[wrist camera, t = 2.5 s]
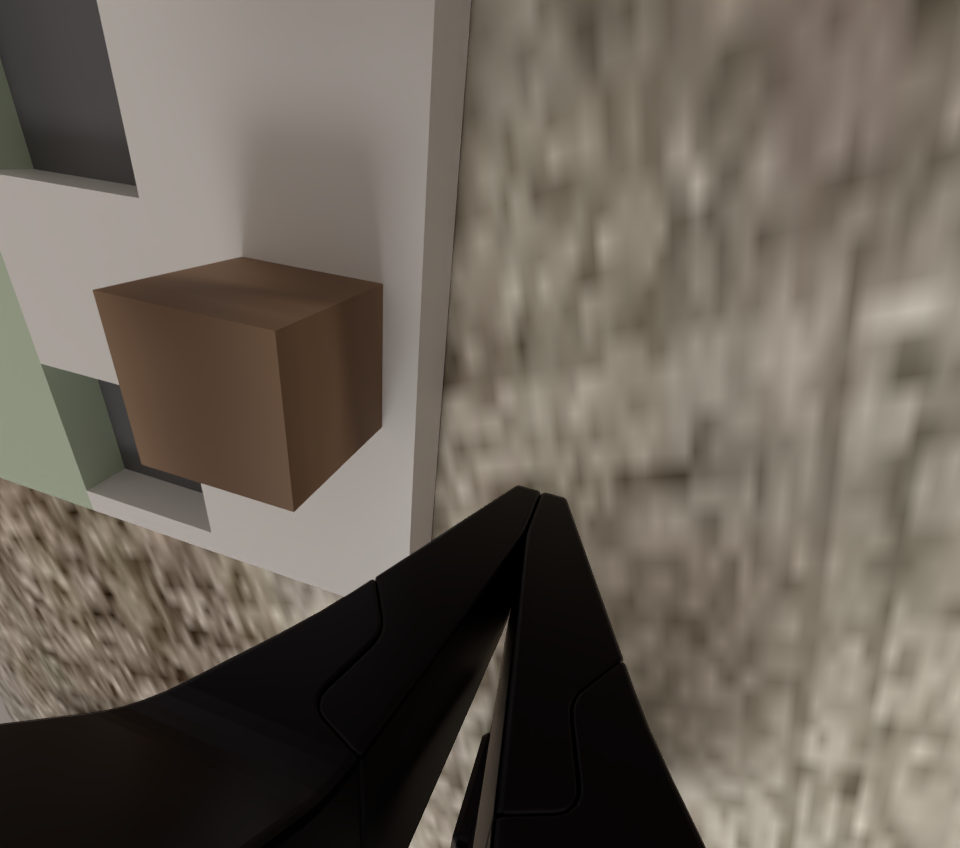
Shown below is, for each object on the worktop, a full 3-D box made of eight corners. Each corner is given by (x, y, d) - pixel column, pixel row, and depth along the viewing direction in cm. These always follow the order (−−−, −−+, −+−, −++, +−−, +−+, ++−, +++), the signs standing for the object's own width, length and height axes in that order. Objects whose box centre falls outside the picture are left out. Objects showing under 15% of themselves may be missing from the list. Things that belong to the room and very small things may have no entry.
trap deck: (480, -114, 10) (442, -173, 8) (428, 577, 19) (406, 618, 17) (-195, -117, 14) (-314, -156, 12) (34, 450, 23) (-15, 472, 21)
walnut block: (383, 283, 12) (274, 331, 8) (382, 427, 14) (294, 511, 10) (242, 256, 13) (92, 289, 9) (259, 395, 15) (142, 464, 11)
